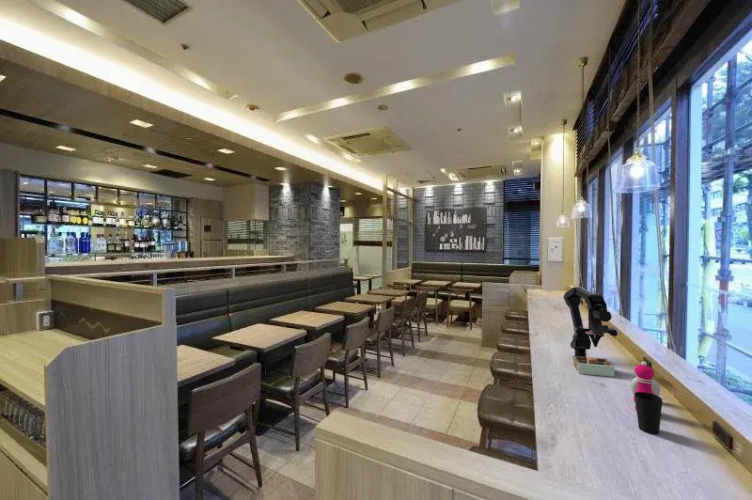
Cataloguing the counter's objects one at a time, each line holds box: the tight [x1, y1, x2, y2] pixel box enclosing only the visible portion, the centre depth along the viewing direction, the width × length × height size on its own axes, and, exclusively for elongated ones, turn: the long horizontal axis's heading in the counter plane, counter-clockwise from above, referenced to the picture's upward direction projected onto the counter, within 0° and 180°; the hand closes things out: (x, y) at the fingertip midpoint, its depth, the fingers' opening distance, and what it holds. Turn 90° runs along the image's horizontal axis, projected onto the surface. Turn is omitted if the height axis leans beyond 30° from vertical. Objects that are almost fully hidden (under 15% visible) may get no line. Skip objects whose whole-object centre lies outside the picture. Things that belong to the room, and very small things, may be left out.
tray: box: [577, 360, 615, 378], centre depth 171 cm, size 12×15×5 cm
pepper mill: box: [633, 360, 655, 412], centre depth 128 cm, size 7×7×20 cm
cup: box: [633, 392, 663, 435], centre depth 116 cm, size 8×8×12 cm
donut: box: [629, 377, 661, 397], centre depth 138 cm, size 10×3×10 cm, turn 59°
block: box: [586, 356, 598, 365], centre depth 173 cm, size 4×4×5 cm
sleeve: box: [572, 355, 614, 373], centre depth 172 cm, size 12×15×5 cm
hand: (595, 346), depth 173 cm, fingers closed
